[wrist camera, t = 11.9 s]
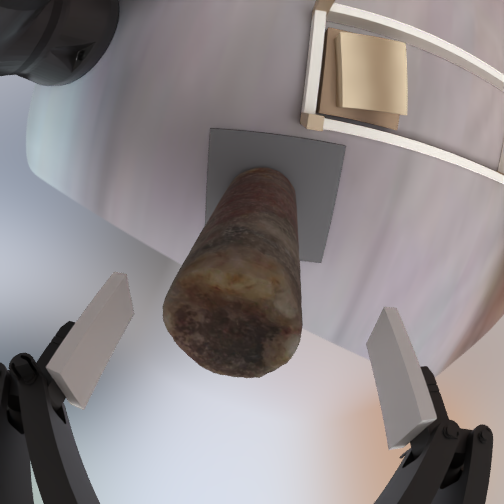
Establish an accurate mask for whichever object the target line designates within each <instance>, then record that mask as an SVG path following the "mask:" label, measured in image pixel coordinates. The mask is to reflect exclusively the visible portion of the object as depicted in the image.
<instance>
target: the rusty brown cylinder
mask: <svg viewBox="0 0 504 504" xmlns="http://www.w3.org/2000/svg"><path fill="white" fill-rule="evenodd" d="M163 321H164V323H165V326H166V328H167V330H168V332H169V333H170V335H171V336H172V337H173V339H174V341H175V342H176V343H177V345H178V346H179V347H180V348H181V349H182V350H183V351H184V352H185V353H186V354H187V355H188V356H189V357H191V358H192V359H193V360H194V361H196V362H197V363H198V364H199V365H200V366H202V367H204V368H205V369H207V370H210V371H212V372H213V373H217V374H220V375H228V376H232V377H244V378H253V377H258V378H260V377H262V376H263V375H265V374H267V373H269V372H272V371H274V370H276V369H277V368H279V367H280V366H282V365H284V364H286V363H287V362H288V361H289V360H290V359H291V357H292V356H293V354H294V353H295V351H296V349H297V347H298V345H299V342H300V338H301V331H302V308H301V281H300V259H299V242H298V221H297V204H296V194H295V190H294V187H293V186H292V184H291V183H290V181H289V180H288V179H287V178H286V177H285V176H284V175H283V174H282V173H280V172H279V171H276V170H273V169H271V168H261V167H260V168H254V169H251V170H248V171H245V172H243V173H241V174H240V175H238V176H237V177H235V178H234V180H233V181H232V182H231V183H230V185H229V187H228V188H227V190H226V191H225V193H224V194H223V196H222V198H221V200H220V201H219V203H218V205H217V206H216V208H215V210H214V211H213V213H212V215H211V217H210V218H209V220H208V222H207V223H206V225H205V227H204V228H203V230H202V232H201V233H200V235H199V237H198V239H197V240H196V242H195V244H194V246H193V247H192V249H191V251H190V253H189V255H188V256H187V258H186V260H185V261H184V263H183V265H182V267H181V268H180V270H179V272H178V274H177V275H176V277H175V279H174V281H173V283H172V285H171V287H170V289H169V291H168V293H167V295H166V298H165V301H164V304H163Z"/></svg>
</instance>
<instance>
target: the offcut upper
mask: <svg viewBox="0 0 504 504" xmlns="http://www.w3.org/2000/svg"><path fill="white" fill-rule="evenodd" d="M334 43H335V65H336V107H341V108H353V109H362V110H371V111H379V112H386V113H393V114H400V115H407V59H406V44H405V43H403V42H399V41H395V40H390V39H385V38H380V37H374V36H368V35H362V34H355V33H347V32H340V33H339V34H338V35H337V36H336V38H335V39H334Z"/></svg>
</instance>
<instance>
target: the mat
mask: <svg viewBox="0 0 504 504" xmlns="http://www.w3.org/2000/svg"><path fill="white" fill-rule="evenodd" d="M345 148H346V146H344V145H339V144H334V143H329V142H323V141H318V140H312V139H306V138H299V137H292V136H285V135H278V134H270V133H261V132H252V131H241V130H230V129H215V128H210V138H209V154H208V171H207V191H206V216H205V225H206V223H207V222H208V220H209V218H210V217H211V215H212V213H213V211H214V210H215V208H216V206H217V205H218V203H219V201H220V200H221V198H222V196H223V194H224V193H225V191H226V190H227V188H228V187H229V185H230V183H231V182H232V181H233V180H234V178H235V177H237V176H238V175H240V174H241V173H243V172H245V171H248V170H251V169H254V168H260V167H261V168H271V169H273V170H276V171H279V172H280V173H282V174H283V175H284V176H285V177H286V178H287V179H288V180H289V181H290V183H291V184H292V186H293V187H294V190H295V194H296V204H297V221H298V242H299V259H300V261H308V262H315V263H321V262H322V258H323V254H324V249H325V245H326V241H327V237H328V232H329V228H330V224H331V219H332V215H333V210H334V205H335V200H336V196H337V191H338V186H339V181H340V175H341V170H342V165H343V159H344V154H345Z"/></svg>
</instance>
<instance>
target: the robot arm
mask: <svg viewBox="0 0 504 504" xmlns="http://www.w3.org/2000/svg"><path fill="white" fill-rule="evenodd" d="M118 16H119V4H118V0H0V76H5V75H18V76H20V77H23V78H26V79H28V80H30V81H33V82H35V83H37V84H40V85H45V86H54V85H64V84H68V83H71V82H73V81H75V80H77V79H78V78H80V77H81V76H83V75H84V74H85V73H87V72H88V71H89V70H90V69H91V68H92V67H93V66H94V65H95V64H96V63H97V61H98V60H99V59H100V57H101V56H102V55H103V53H104V52H105V50H106V49H107V47H108V45H109V43H110V41H111V39H112V37H113V35H114V32H115V29H116V26H117V22H118ZM133 316H134V310H133V305H132V300H131V295H130V290H129V284H128V279H127V274H124V273H118V272H114V273H113V274H112V275H111V276H110V278H109V279H108V280H107V282H106V283H105V284H104V285H103V287H102V288H101V289H100V291H99V292H98V293H97V294H96V296H95V297H94V298H93V300H92V301H91V302H90V304H89V305H88V306H87V308H86V309H85V310H84V312H83V313H82V315H81V316H80V317H79V319H78V320H77V322H76V323H75V322H71V321H69V322H67V323H66V324H65V325H63V326H62V327H61V328H60V329H59V331H58V332H57V334H56V336H55V337H54V338H53V339H52V341H51V343H49V345H48V346H47V348H46V349H45V351H44V352H43V354H42V355H41V357H40V358H39V360H38V361H37V363H36V362H35V360H34V359H33V357H32V356H31V355H30V354H27V353H20V354H18V355H16V356H15V357H13V359H12V360H11V362H10V363H9V369H10V370H7V369H6V367H5V366H4V365H3V364H2V363H0V504H34V501H33V493H32V483H31V470H30V461H31V464H32V468H33V472H34V475H35V479H36V482H37V485H38V488H39V491H40V494H41V497H42V500H43V503H44V504H100V502H99V500H98V498H97V496H96V494H95V492H94V490H93V487H92V485H91V483H90V480H89V478H88V475H87V473H86V470H85V468H84V465H83V463H82V460H81V457H80V455H79V451H78V449H77V446H76V443H75V440H74V437H73V433H72V430H71V426H70V423H69V419H68V416H67V412H66V408H65V405H64V403H63V402H64V400H65V398H67V400H68V401H69V403H70V404H71V405H74V406H76V407H78V408H81V409H83V410H84V409H85V407H86V405H87V403H88V401H89V398H90V396H91V395H92V393H93V391H94V388H95V386H96V384H97V383H98V381H99V379H100V376H101V375H102V372H103V371H104V369H105V367H106V365H107V363H108V361H109V359H110V357H111V355H112V353H113V352H114V350H115V348H116V346H117V344H118V342H119V340H120V339H121V337H122V335H123V333H124V332H125V330H126V328H127V326H128V324H129V323H130V321H131V319H132V317H133ZM366 345H367V349H368V353H369V357H370V361H371V365H372V369H373V373H374V378H375V382H376V386H377V391H378V395H379V400H380V405H381V410H382V414H383V420H384V425H385V431H386V436H387V442H388V448H389V450H391V449H398V448H403V447H405V446H406V445H407V444H408V443H410V444H411V448H410V449H409V450H407V451H406V452H405V453H404V454H402V456H400V458H403V457H404V456H405V457H404V459H403V461H402V462H401V464H400V466H399V467H398V469H397V470H396V472H395V474H394V475H393V477H392V478H391V480H390V481H389V483H388V485H387V486H386V487H385V489H384V490H383V492H382V493H381V495H380V496H379V497H378V499H377V500H376V502H375V503H374V504H485V501H486V495H487V490H488V484H489V477H490V470H491V460H492V448H493V434H492V431H491V429H490V428H488V426H485V425H479V426H477V427H476V428H475V429H474V430H468V429H461V428H459V426H458V424H457V423H456V422H454V421H452V420H449V418H448V416H447V412H446V409H445V406H444V403H443V400H442V397H441V394H440V393H439V389H438V386H437V385H436V380H435V378H434V375H433V373H432V372H431V371H430V370H429V368H428V367H427V366H424V367H420V365H419V362H418V359H417V357H416V354H415V351H414V349H413V346H412V344H411V341H410V339H409V336H408V334H407V331H406V329H405V327H404V324H403V322H402V319H401V317H400V315H399V313H398V310H397V308H391V307H384V308H383V310H382V312H381V315H380V317H379V319H378V321H377V323H376V325H375V327H374V329H373V331H372V333H371V335H370V337H369V339H368V341H367V343H366Z"/></svg>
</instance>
